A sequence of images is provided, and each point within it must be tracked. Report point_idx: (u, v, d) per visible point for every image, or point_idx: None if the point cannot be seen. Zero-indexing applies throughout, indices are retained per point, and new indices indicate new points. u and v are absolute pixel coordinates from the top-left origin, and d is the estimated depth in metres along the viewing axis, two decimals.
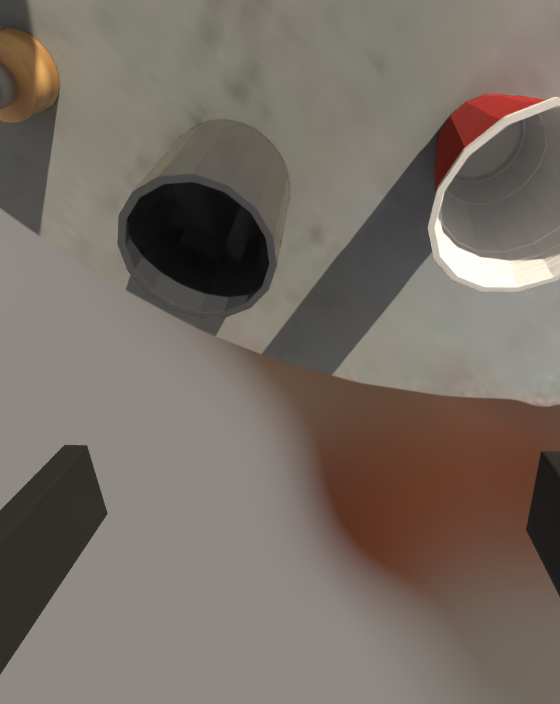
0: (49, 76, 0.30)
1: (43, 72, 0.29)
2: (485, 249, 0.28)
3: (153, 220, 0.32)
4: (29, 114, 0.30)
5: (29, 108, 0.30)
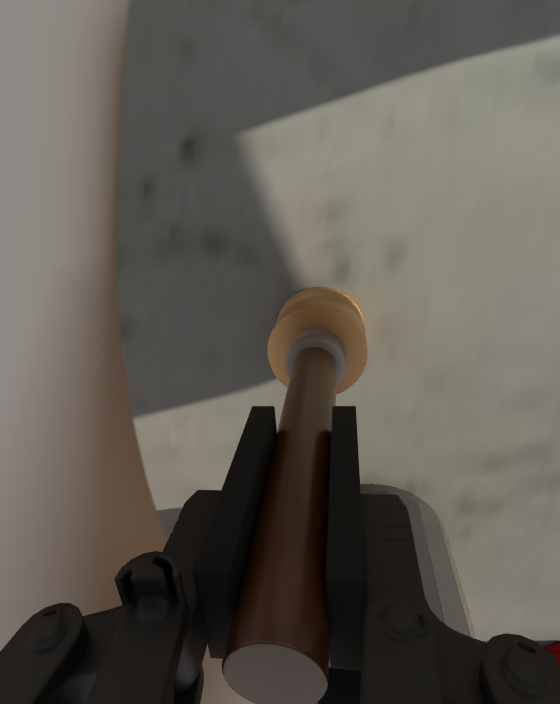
0: None
1: None
2: None
3: None
4: None
5: None
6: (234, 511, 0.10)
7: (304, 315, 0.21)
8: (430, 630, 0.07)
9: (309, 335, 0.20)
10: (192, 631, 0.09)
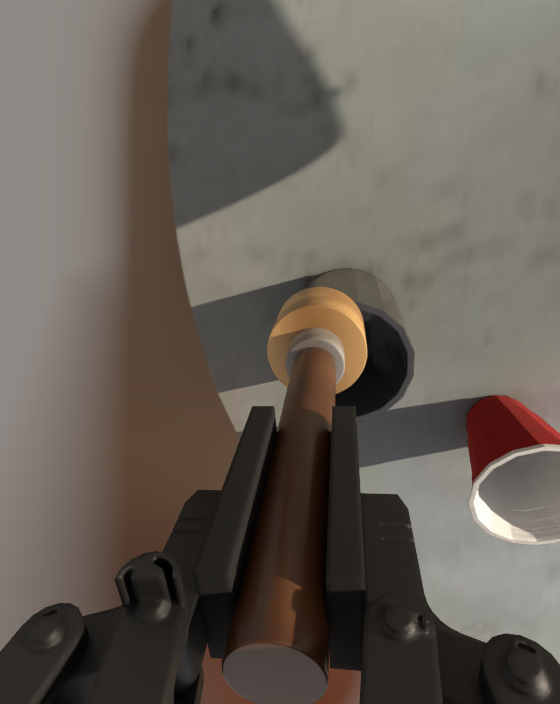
0: None
1: None
2: (481, 493, 0.39)
3: None
4: None
5: None
6: (234, 511, 0.10)
7: (304, 315, 0.21)
8: (430, 630, 0.07)
9: (309, 335, 0.20)
10: (192, 631, 0.09)
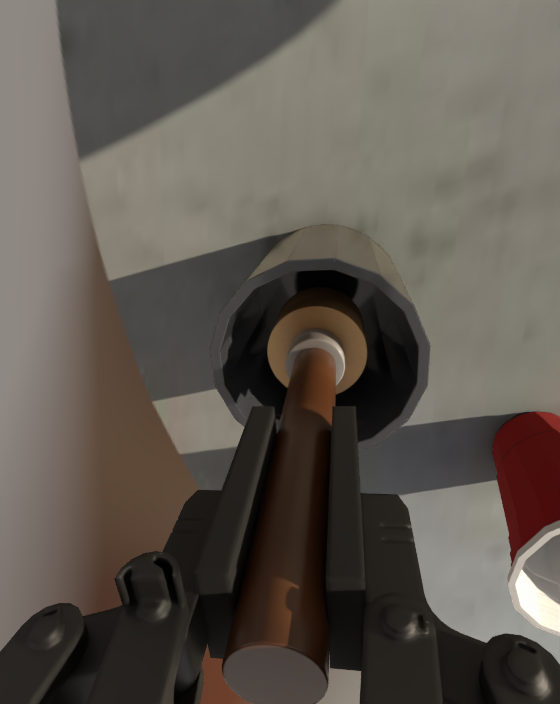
0: None
1: None
2: None
3: None
4: None
5: None
6: (234, 511, 0.10)
7: (304, 315, 0.21)
8: (430, 630, 0.07)
9: (309, 336, 0.20)
10: (192, 631, 0.09)
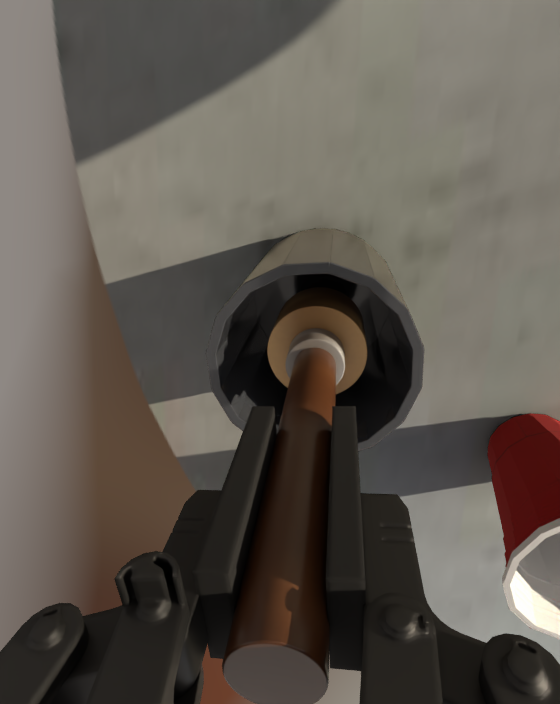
0: None
1: None
2: None
3: None
4: None
5: None
6: (234, 511, 0.10)
7: (304, 315, 0.21)
8: (430, 630, 0.07)
9: (309, 336, 0.20)
10: (192, 631, 0.09)
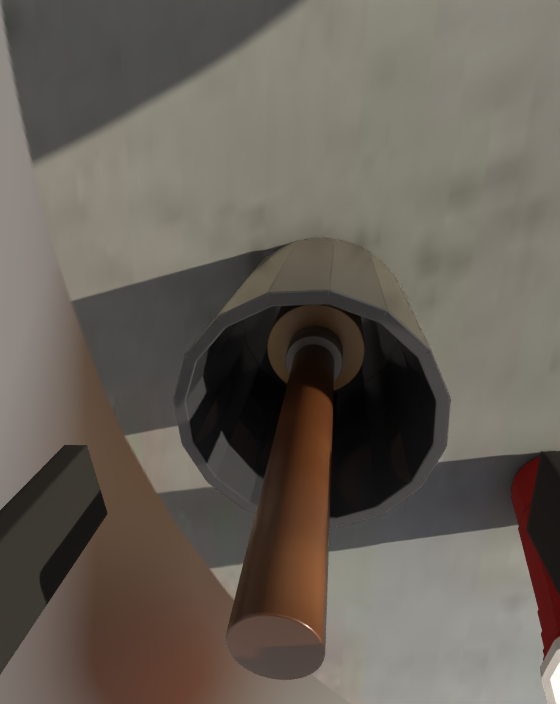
0: None
1: None
2: None
3: None
4: None
5: None
6: None
7: (303, 313, 0.21)
8: None
9: (308, 333, 0.21)
10: None
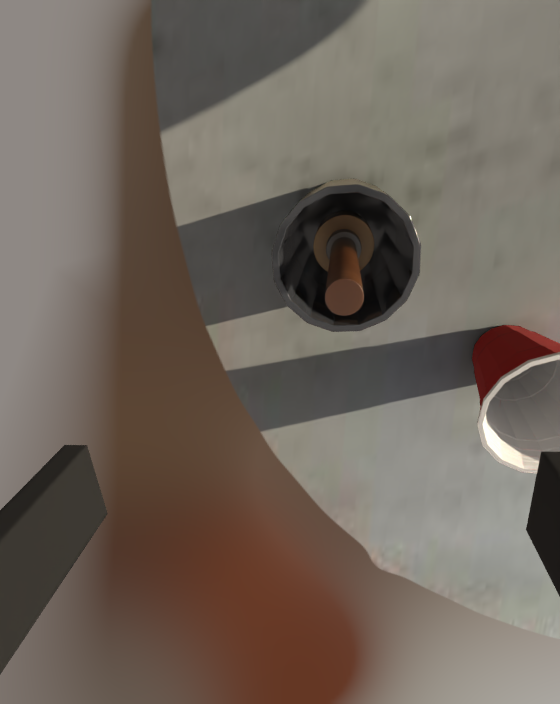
0: None
1: None
2: (490, 421, 0.36)
3: None
4: None
5: None
6: None
7: (336, 221, 0.35)
8: None
9: (340, 231, 0.34)
10: None
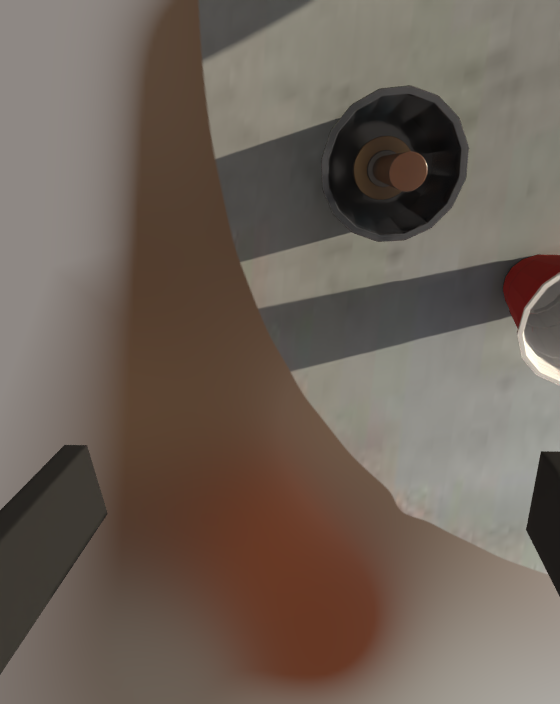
0: None
1: None
2: (526, 339, 0.37)
3: (347, 126, 0.34)
4: (376, 198, 0.38)
5: (380, 197, 0.38)
6: None
7: (377, 142, 0.36)
8: None
9: (382, 150, 0.35)
10: None
